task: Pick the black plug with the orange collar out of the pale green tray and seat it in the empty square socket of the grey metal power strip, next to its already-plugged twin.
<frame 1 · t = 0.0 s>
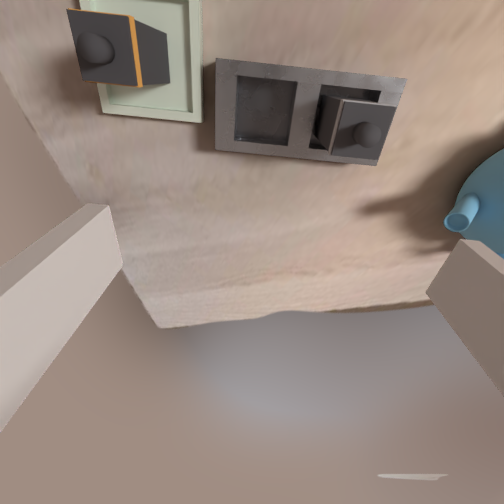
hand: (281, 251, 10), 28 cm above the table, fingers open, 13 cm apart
plug: (148, 57, 29), resting on tray
twin plug: (336, 117, 32), resting on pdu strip
teapot: (484, 188, 37), on the table
tray: (150, 57, 29), on the table
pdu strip: (299, 113, 32), on the table
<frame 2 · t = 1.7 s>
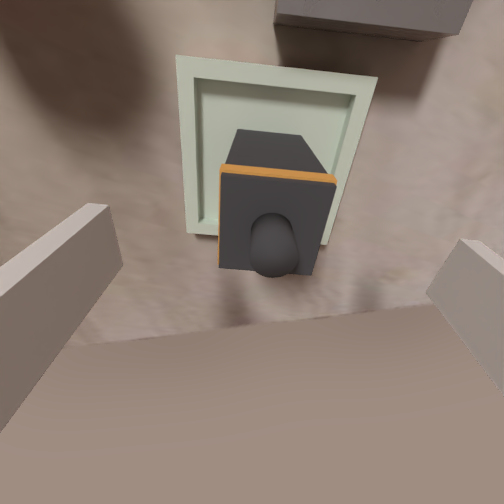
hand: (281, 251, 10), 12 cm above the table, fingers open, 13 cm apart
plug: (265, 164, 19), resting on tray
tray: (265, 162, 20), on the table
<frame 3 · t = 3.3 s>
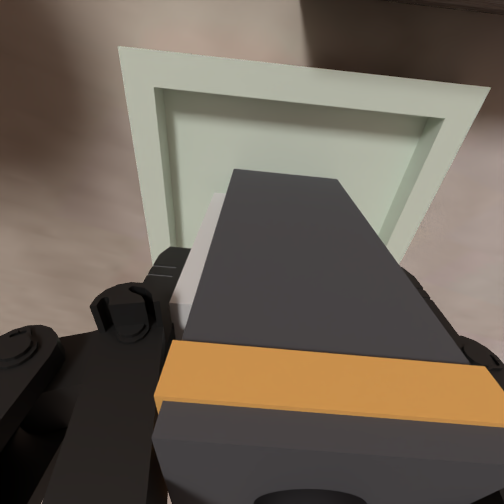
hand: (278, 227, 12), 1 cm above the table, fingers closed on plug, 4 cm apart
plug: (278, 220, 12), resting on tray, touching gripper
tray: (277, 215, 13), on the table
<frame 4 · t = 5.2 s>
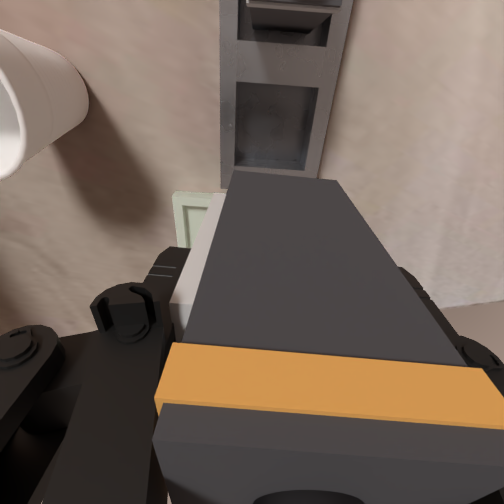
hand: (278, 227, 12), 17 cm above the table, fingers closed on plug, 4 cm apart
plug: (277, 221, 12), point 16 cm above the table, touching gripper
cup: (57, 89, 24), on the table
tray: (228, 239, 32), on the table
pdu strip: (277, 66, 22), on the table
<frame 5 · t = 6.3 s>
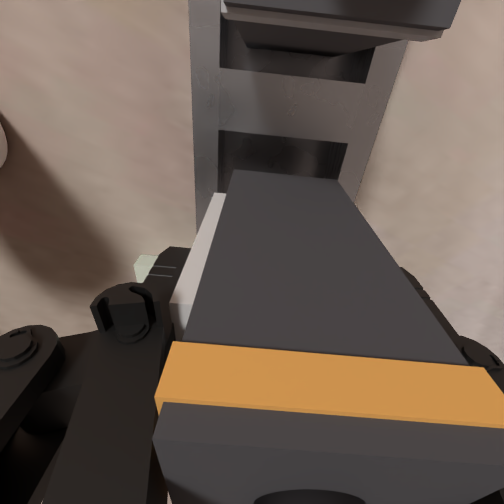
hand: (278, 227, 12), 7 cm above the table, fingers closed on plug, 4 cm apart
plug: (277, 220, 12), point 6 cm above the table, touching gripper
tray: (212, 310, 25), on the table
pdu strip: (282, 101, 15), on the table
when the fingers open (4 cm above the table, at t = 7.0 s): plug drops 3 cm, resting on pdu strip.
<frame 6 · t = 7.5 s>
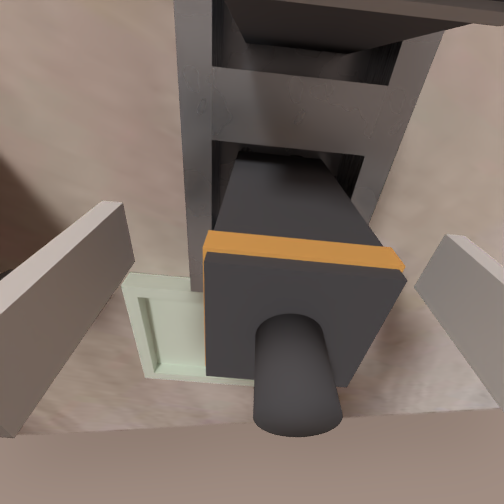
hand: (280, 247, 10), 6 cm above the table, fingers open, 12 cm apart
plug: (274, 194, 15), resting on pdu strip
tray: (209, 330, 23), on the table
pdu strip: (287, 105, 13), on the table
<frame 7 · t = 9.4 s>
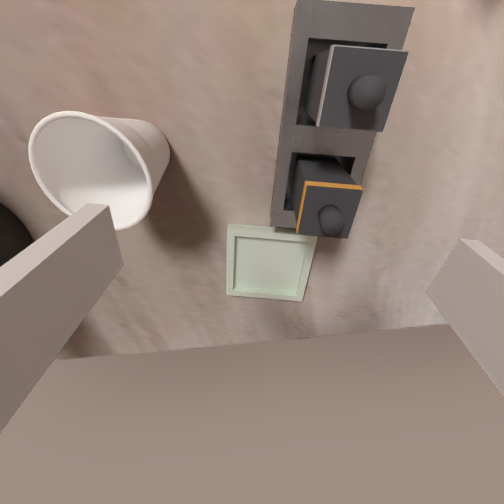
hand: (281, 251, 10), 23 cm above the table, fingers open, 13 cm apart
plug: (312, 176, 31), resting on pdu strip
twin plug: (331, 86, 25), resting on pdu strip
cup: (145, 147, 30), on the table
tray: (267, 262, 39), on the table
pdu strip: (320, 134, 28), on the table
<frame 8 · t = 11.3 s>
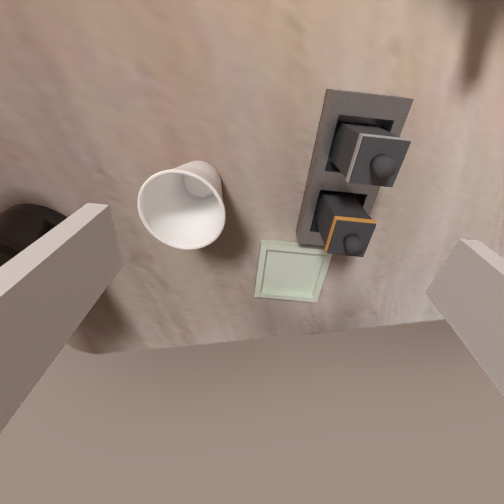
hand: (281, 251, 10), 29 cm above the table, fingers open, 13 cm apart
plug: (332, 205, 39), resting on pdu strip
twin plug: (350, 141, 34), resting on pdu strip
cup: (201, 180, 38), on the table
tray: (290, 270, 47), on the table
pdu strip: (340, 174, 37), on the table
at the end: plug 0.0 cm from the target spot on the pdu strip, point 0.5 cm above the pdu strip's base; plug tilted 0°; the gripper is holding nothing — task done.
